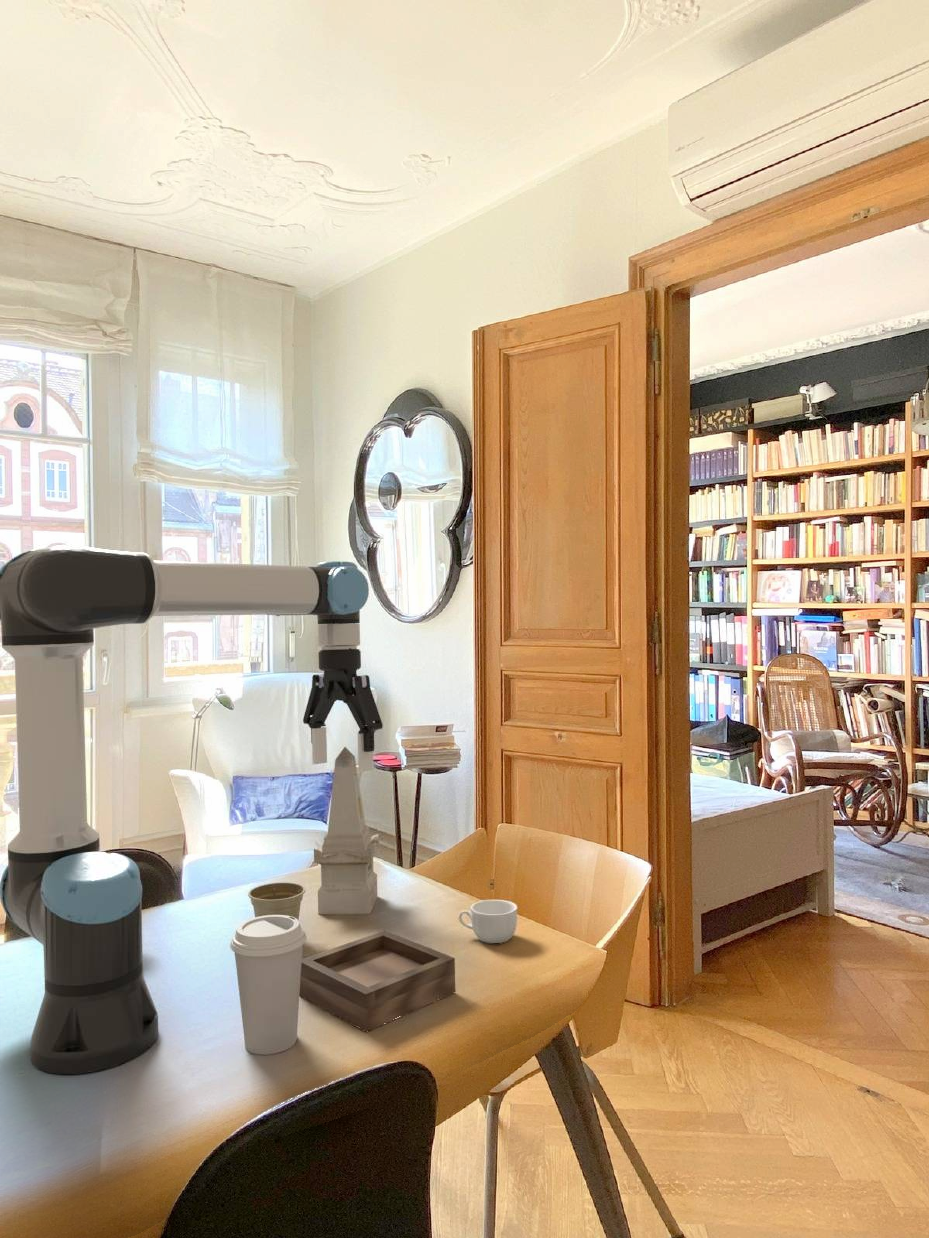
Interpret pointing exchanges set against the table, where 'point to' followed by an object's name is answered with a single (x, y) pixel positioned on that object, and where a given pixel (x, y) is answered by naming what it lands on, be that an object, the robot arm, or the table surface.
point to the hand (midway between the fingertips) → (342, 766)
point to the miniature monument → (347, 847)
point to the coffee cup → (269, 980)
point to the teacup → (492, 920)
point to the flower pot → (277, 899)
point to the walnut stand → (376, 979)
